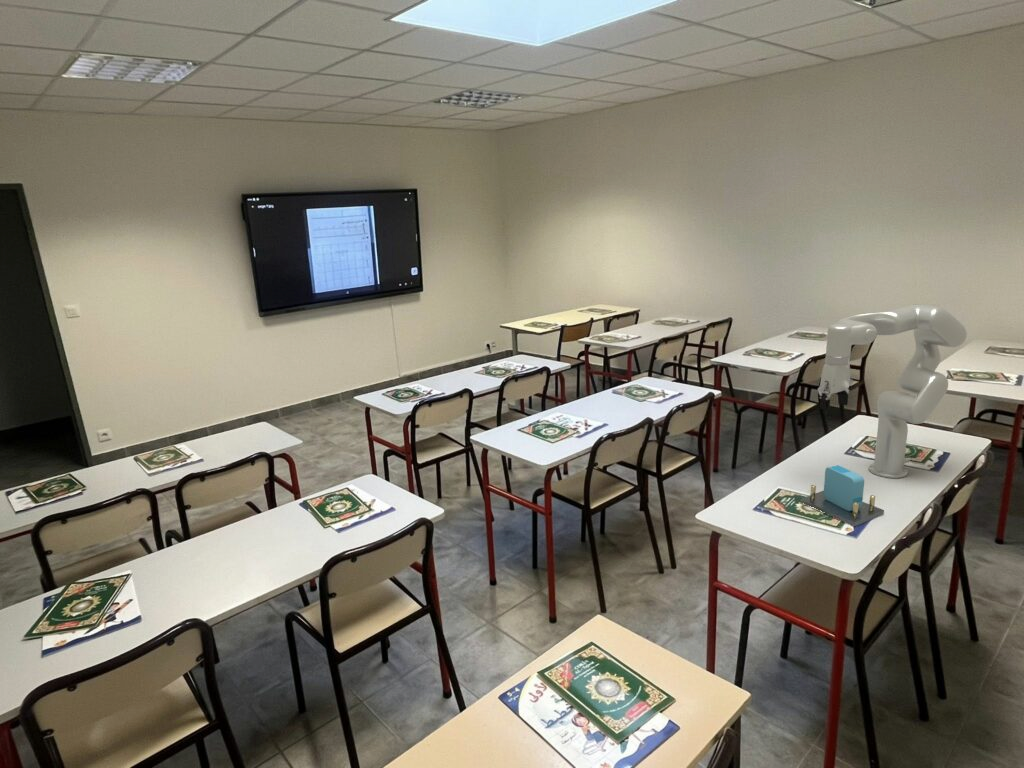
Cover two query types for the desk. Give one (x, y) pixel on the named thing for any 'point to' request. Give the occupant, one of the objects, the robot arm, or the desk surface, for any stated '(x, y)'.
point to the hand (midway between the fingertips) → (833, 407)
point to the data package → (843, 487)
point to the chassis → (846, 516)
